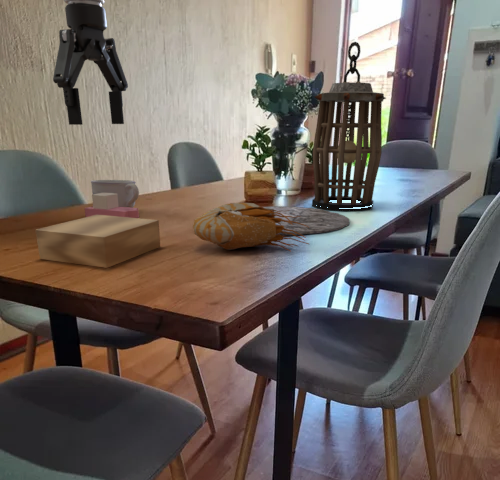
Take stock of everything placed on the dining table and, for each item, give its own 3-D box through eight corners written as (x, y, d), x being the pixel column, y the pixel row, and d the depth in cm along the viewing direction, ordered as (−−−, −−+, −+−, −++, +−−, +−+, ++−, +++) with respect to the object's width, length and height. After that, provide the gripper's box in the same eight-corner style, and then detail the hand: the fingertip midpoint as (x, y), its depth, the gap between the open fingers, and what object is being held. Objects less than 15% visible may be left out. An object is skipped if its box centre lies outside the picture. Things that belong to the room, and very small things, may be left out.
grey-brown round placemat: (368, 214, 128) (368, 213, 128) (317, 241, 100) (317, 239, 100) (251, 204, 143) (251, 202, 142) (178, 224, 114) (178, 223, 114)
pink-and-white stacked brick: (86, 223, 116) (82, 194, 113) (100, 220, 120) (97, 191, 117) (132, 228, 111) (129, 197, 109) (145, 224, 116) (143, 194, 113)
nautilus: (316, 247, 98) (293, 271, 85) (216, 231, 105) (180, 250, 92) (321, 206, 94) (297, 224, 82) (216, 192, 101) (179, 207, 89)
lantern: (387, 205, 144) (405, 43, 128) (363, 215, 129) (379, 33, 113) (324, 199, 153) (334, 48, 138) (295, 207, 138) (302, 39, 122)
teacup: (86, 212, 130) (83, 179, 127) (124, 207, 137) (121, 176, 134) (113, 219, 120) (110, 184, 117) (152, 214, 127) (150, 181, 124)
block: (39, 258, 87) (35, 229, 85) (99, 240, 100) (96, 214, 98) (107, 268, 82) (103, 237, 80) (160, 246, 95) (158, 220, 93)
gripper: (53, -11, 86) (71, 124, 94) (138, 15, 107) (146, 123, 116) (20, -7, 89) (40, 124, 97) (109, 17, 110) (119, 123, 118)
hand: (98, 124), depth 106 cm, fingers open, 13 cm apart
